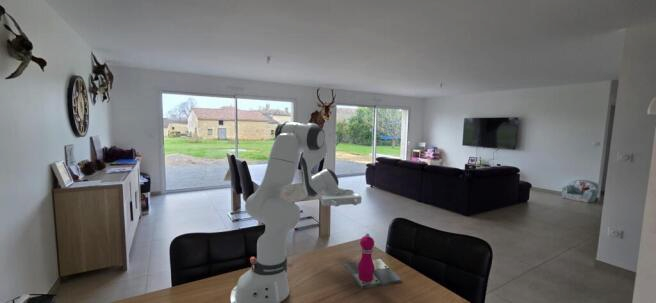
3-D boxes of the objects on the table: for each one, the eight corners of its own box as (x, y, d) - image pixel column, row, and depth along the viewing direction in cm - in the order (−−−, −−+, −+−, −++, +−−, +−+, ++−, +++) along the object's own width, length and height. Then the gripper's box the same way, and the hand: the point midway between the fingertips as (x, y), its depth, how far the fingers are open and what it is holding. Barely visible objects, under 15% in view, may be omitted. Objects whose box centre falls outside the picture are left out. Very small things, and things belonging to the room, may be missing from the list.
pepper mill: (373, 283, 114) (375, 237, 112) (356, 281, 116) (358, 235, 114) (374, 274, 121) (376, 231, 119) (358, 272, 123) (359, 229, 121)
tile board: (361, 288, 113) (361, 285, 112) (344, 265, 131) (344, 263, 130) (401, 281, 118) (401, 279, 118) (380, 260, 136) (380, 258, 136)
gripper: (317, 191, 139) (325, 198, 125) (355, 189, 145) (366, 196, 132) (317, 203, 139) (325, 212, 126) (354, 201, 145) (365, 209, 132)
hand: (346, 204), depth 129 cm, fingers open, 8 cm apart
